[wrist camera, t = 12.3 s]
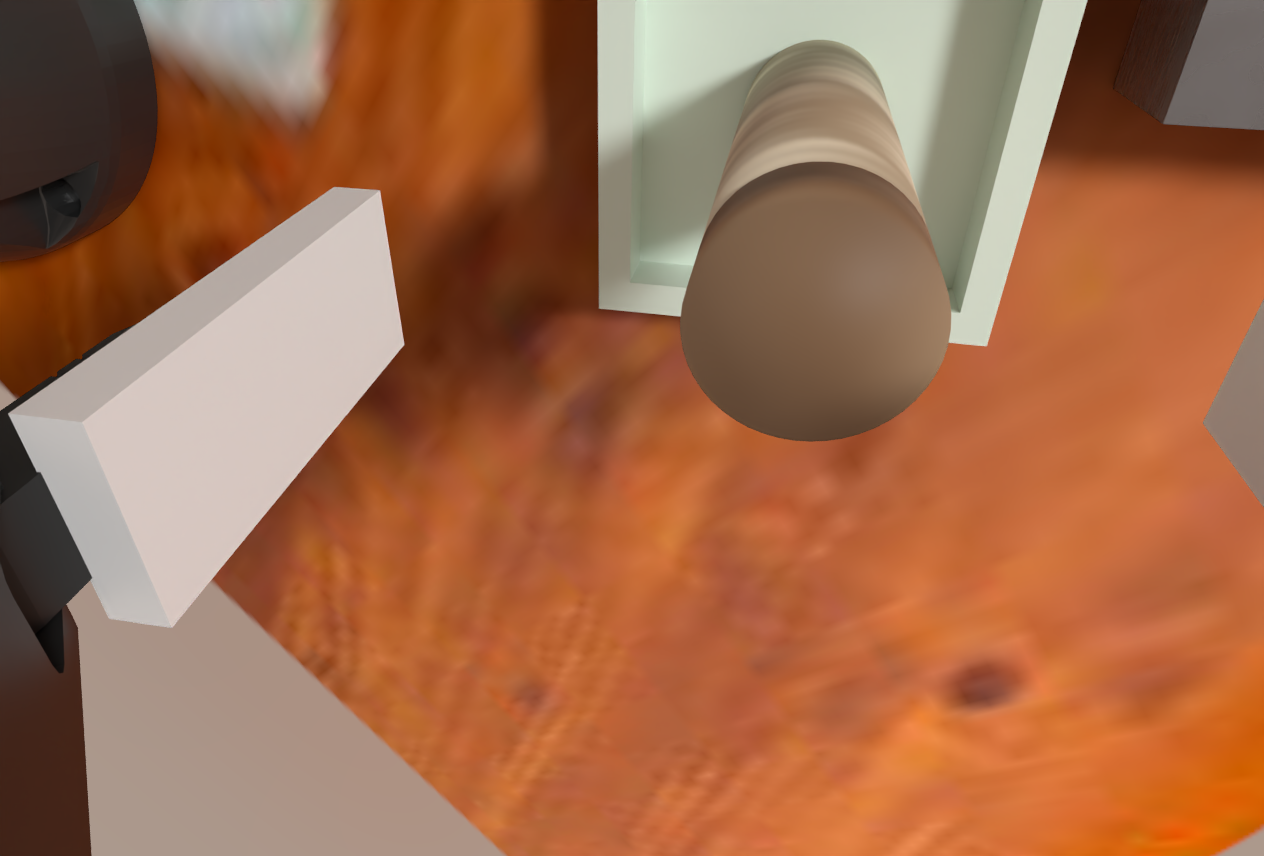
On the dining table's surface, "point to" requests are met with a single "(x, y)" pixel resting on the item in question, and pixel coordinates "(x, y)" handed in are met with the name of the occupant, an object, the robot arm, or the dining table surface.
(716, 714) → the dining table surface
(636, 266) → the tray
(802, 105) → the pin
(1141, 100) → the socket block
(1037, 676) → the dining table surface
